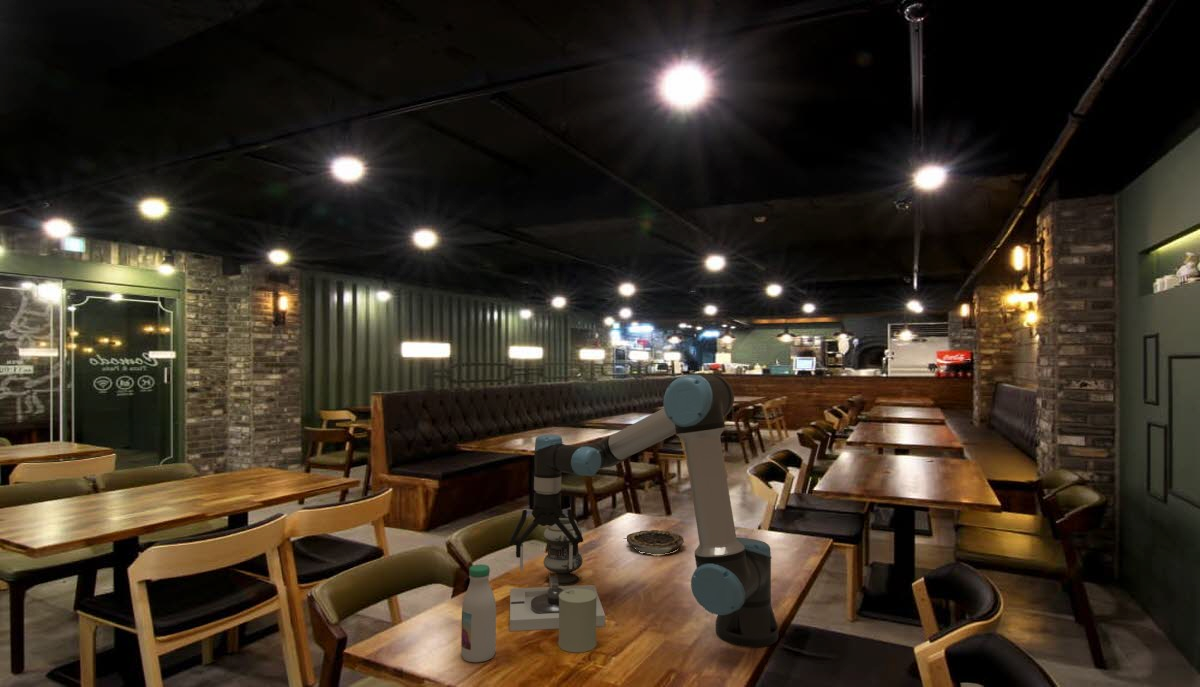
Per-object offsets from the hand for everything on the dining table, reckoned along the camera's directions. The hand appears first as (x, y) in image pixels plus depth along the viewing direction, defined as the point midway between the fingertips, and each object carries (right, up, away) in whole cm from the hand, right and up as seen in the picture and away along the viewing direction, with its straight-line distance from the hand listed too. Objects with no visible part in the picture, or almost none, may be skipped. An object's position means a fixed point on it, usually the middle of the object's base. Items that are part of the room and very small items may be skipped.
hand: (546, 568), depth 173 cm
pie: (+35, -12, +53) cm, 64 cm away
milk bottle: (-13, -9, -31) cm, 34 cm away
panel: (+3, -10, -5) cm, 11 cm away
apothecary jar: (+4, -11, +19) cm, 22 cm away
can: (+10, -9, -24) cm, 28 cm away
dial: (+3, -8, -3) cm, 9 cm away
